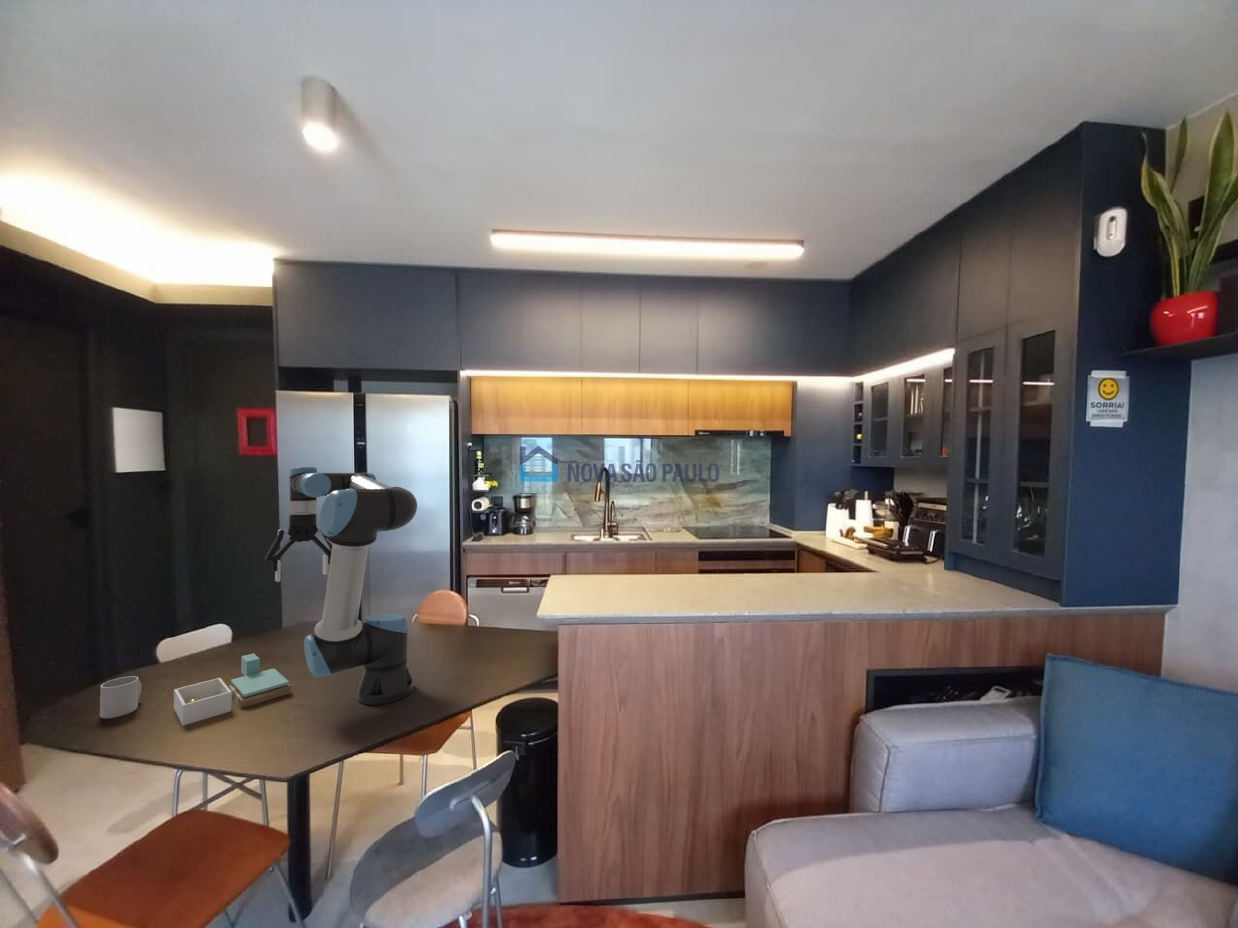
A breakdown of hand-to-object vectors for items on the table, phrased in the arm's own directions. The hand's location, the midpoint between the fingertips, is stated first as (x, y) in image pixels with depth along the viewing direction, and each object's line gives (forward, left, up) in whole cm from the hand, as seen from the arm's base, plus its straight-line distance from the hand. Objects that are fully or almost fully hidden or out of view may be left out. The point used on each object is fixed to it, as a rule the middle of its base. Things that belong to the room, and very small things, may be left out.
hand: (302, 577), depth 157 cm
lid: (-5, +13, -29) cm, 32 cm away
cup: (+9, +40, -32) cm, 52 cm away
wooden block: (-8, +13, -32) cm, 35 cm away
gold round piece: (-5, +28, -31) cm, 42 cm away
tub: (-8, +26, -32) cm, 42 cm away
